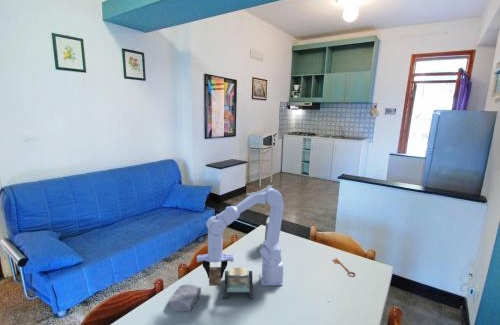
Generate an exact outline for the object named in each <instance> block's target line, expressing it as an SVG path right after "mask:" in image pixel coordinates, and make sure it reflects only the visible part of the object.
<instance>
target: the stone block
mask: <svg viewBox="0 0 500 325" xmlns="http://www.w3.org/2000/svg"><path fill="white" fill-rule="evenodd" d="M201 293H202V287H201V286H200V285H194V284H191V283H187V284H186V283H185V284H182V285H180V286H178V288H177V289H176V290H175V291H174V293H173V294H172V295H171V297H170V299H169V302H168V303H169V308H170V309H172V310H174V311H178V312H179V311H180V312H188V313H189V312H191V311H192V309H193V308H194V305H195V304H196V302H197V301H198V299H199V297H200V295H201Z"/></svg>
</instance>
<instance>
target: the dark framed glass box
mask: <svg viewBox="0 0 500 325" xmlns="http://www.w3.org/2000/svg"><path fill="white" fill-rule="evenodd" d="M228 293H249V299H250V298H251V299H253V298H254V284H253V270H248V268H247V267H230V270H225V271H224V284H223V292H222V294H223V298H224V299H228Z"/></svg>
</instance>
